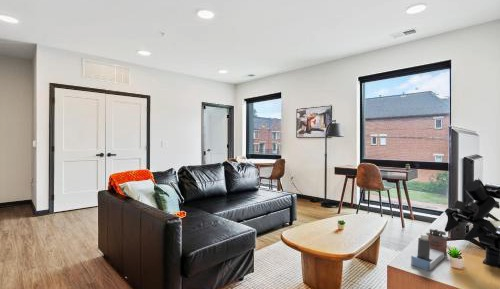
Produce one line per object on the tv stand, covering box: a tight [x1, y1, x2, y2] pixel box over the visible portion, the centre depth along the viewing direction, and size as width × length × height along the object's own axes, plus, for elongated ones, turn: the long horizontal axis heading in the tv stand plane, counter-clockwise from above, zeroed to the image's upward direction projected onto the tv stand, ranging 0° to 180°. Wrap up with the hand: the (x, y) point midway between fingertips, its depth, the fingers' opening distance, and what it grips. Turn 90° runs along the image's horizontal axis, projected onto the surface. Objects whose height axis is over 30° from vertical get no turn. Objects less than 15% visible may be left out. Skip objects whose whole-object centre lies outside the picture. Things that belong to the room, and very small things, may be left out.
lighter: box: [425, 228, 448, 256], centre depth 121 cm, size 8×3×10 cm, turn 40°
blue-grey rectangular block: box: [410, 248, 445, 272], centre depth 111 cm, size 18×6×4 cm, turn 129°
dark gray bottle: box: [417, 233, 430, 261], centre depth 107 cm, size 4×4×12 cm
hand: (454, 235), depth 107 cm, fingers open, 9 cm apart
